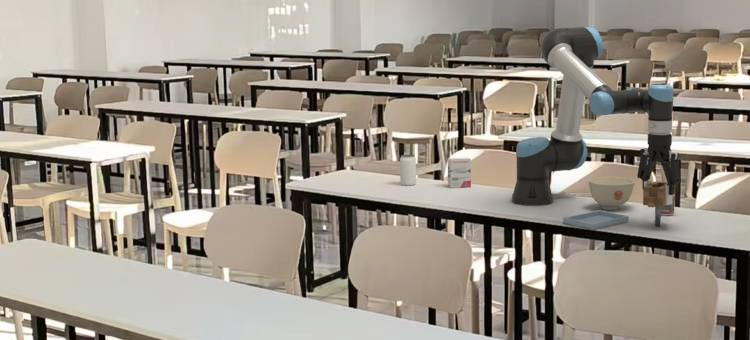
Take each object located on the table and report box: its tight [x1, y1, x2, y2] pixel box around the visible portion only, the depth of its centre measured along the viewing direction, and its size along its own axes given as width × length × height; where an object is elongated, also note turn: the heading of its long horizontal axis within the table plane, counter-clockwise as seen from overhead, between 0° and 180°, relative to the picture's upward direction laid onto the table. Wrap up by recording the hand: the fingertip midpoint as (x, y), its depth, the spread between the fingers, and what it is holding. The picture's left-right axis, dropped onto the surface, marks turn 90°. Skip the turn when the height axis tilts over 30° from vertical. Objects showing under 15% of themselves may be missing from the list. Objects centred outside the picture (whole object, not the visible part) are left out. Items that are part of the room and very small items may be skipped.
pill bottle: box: [661, 193, 676, 217], centre depth 348 cm, size 6×6×10 cm
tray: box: [562, 209, 630, 231], centre depth 339 cm, size 13×18×2 cm
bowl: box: [588, 176, 636, 211], centre depth 360 cm, size 16×16×10 cm
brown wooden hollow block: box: [642, 181, 673, 209], centre depth 329 cm, size 12×6×6 cm, turn 146°
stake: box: [654, 207, 662, 228], centre depth 331 cm, size 2×4×11 cm, turn 126°
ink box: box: [447, 156, 472, 189], centre depth 407 cm, size 8×5×12 cm, turn 99°
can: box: [399, 154, 417, 187], centre depth 414 cm, size 6×6×12 cm
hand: (657, 202), depth 330 cm, fingers closed on brown wooden hollow block, 8 cm apart
